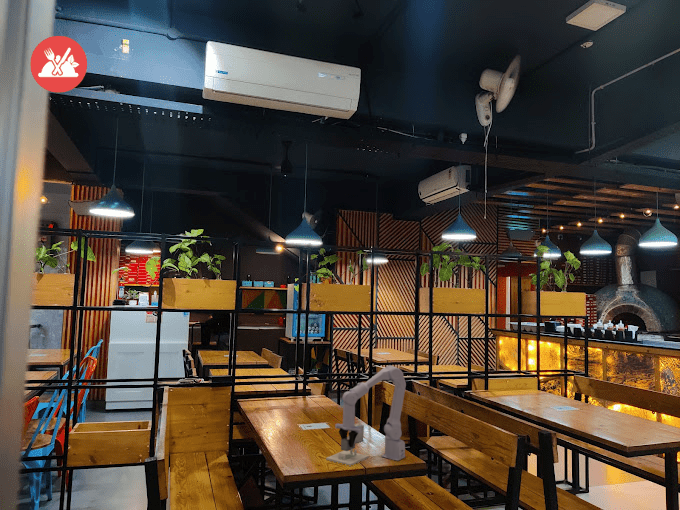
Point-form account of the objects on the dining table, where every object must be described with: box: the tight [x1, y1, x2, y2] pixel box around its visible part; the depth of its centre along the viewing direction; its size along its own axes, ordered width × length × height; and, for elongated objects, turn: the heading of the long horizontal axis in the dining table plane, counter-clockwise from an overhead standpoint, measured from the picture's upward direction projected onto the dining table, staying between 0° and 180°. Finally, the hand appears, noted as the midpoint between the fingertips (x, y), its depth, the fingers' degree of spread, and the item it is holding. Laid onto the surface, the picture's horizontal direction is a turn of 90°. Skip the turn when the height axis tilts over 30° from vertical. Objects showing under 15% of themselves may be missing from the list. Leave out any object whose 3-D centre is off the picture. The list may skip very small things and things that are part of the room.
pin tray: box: [325, 448, 370, 467], centre depth 242 cm, size 14×16×4 cm
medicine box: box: [348, 423, 365, 444], centre depth 272 cm, size 8×4×9 cm, turn 141°
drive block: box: [340, 435, 356, 451], centre depth 243 cm, size 4×7×5 cm, turn 145°
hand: (348, 445), depth 242 cm, fingers closed on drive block, 3 cm apart
